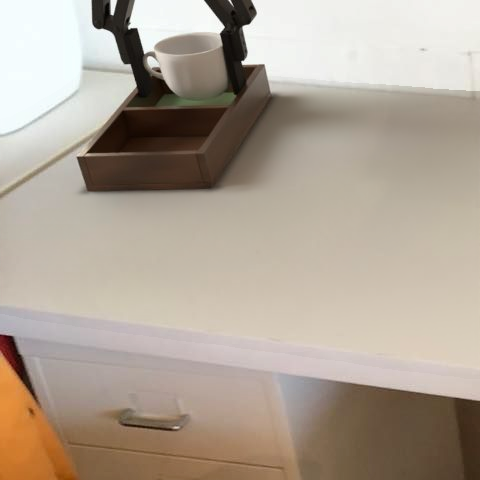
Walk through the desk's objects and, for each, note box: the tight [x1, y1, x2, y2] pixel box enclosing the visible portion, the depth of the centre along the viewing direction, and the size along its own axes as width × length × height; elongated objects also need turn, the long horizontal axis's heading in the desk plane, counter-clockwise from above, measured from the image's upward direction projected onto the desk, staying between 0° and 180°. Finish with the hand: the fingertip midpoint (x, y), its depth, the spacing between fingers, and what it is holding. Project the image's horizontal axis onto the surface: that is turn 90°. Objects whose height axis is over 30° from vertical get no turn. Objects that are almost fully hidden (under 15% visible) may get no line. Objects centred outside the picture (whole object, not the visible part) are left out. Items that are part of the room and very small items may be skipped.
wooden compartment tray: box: [76, 63, 272, 192], centre depth 141 cm, size 13×25×4 cm, turn 178°
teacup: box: [143, 31, 231, 101], centre depth 143 cm, size 10×8×5 cm
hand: (193, 91), depth 144 cm, fingers closed on teacup, 10 cm apart
